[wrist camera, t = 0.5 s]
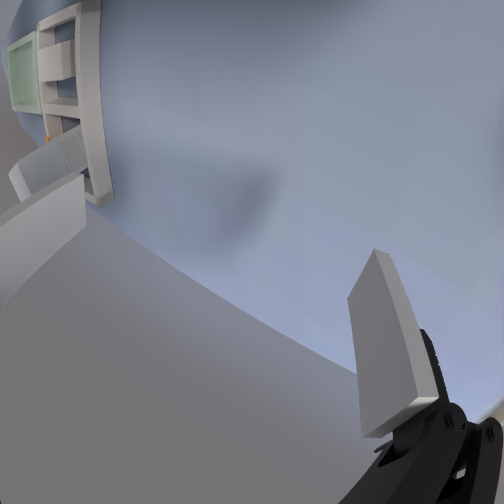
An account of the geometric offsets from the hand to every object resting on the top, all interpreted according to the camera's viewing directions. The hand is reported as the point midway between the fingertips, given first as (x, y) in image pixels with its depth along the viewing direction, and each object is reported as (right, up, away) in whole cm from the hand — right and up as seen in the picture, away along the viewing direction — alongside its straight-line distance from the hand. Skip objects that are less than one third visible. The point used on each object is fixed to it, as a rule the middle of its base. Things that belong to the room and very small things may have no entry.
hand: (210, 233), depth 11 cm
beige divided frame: (-20, +18, +14) cm, 30 cm away
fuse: (-19, +22, +9) cm, 31 cm away
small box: (-21, +13, +19) cm, 31 cm away
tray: (-32, +27, +13) cm, 44 cm away
